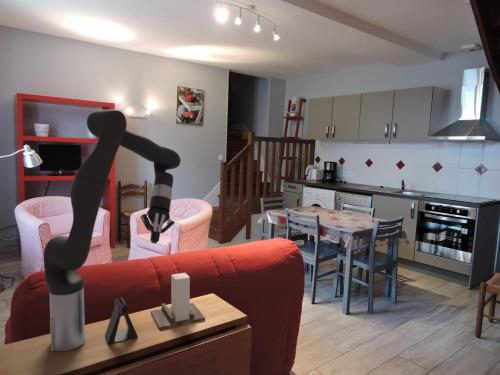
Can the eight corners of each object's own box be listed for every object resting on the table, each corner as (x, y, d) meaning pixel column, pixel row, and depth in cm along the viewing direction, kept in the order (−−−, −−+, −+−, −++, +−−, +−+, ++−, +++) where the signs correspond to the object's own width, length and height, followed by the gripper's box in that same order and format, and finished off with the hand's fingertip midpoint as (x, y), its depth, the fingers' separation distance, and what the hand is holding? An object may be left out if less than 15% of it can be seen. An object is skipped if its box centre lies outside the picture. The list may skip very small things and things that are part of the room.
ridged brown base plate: (159, 330, 118) (159, 321, 118) (150, 313, 129) (150, 305, 129) (204, 320, 126) (205, 312, 125) (192, 305, 137) (192, 297, 137)
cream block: (175, 321, 121) (175, 279, 119) (171, 315, 125) (171, 274, 124) (189, 318, 123) (189, 277, 122) (184, 312, 128) (185, 272, 126)
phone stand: (133, 329, 118) (133, 294, 117) (137, 337, 113) (137, 301, 112) (104, 335, 114) (104, 300, 112) (107, 345, 108) (107, 307, 107)
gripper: (147, 191, 129) (139, 237, 122) (181, 200, 136) (175, 244, 129) (140, 197, 135) (132, 241, 128) (173, 205, 142) (167, 248, 134)
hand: (154, 242), depth 128 cm, fingers closed
